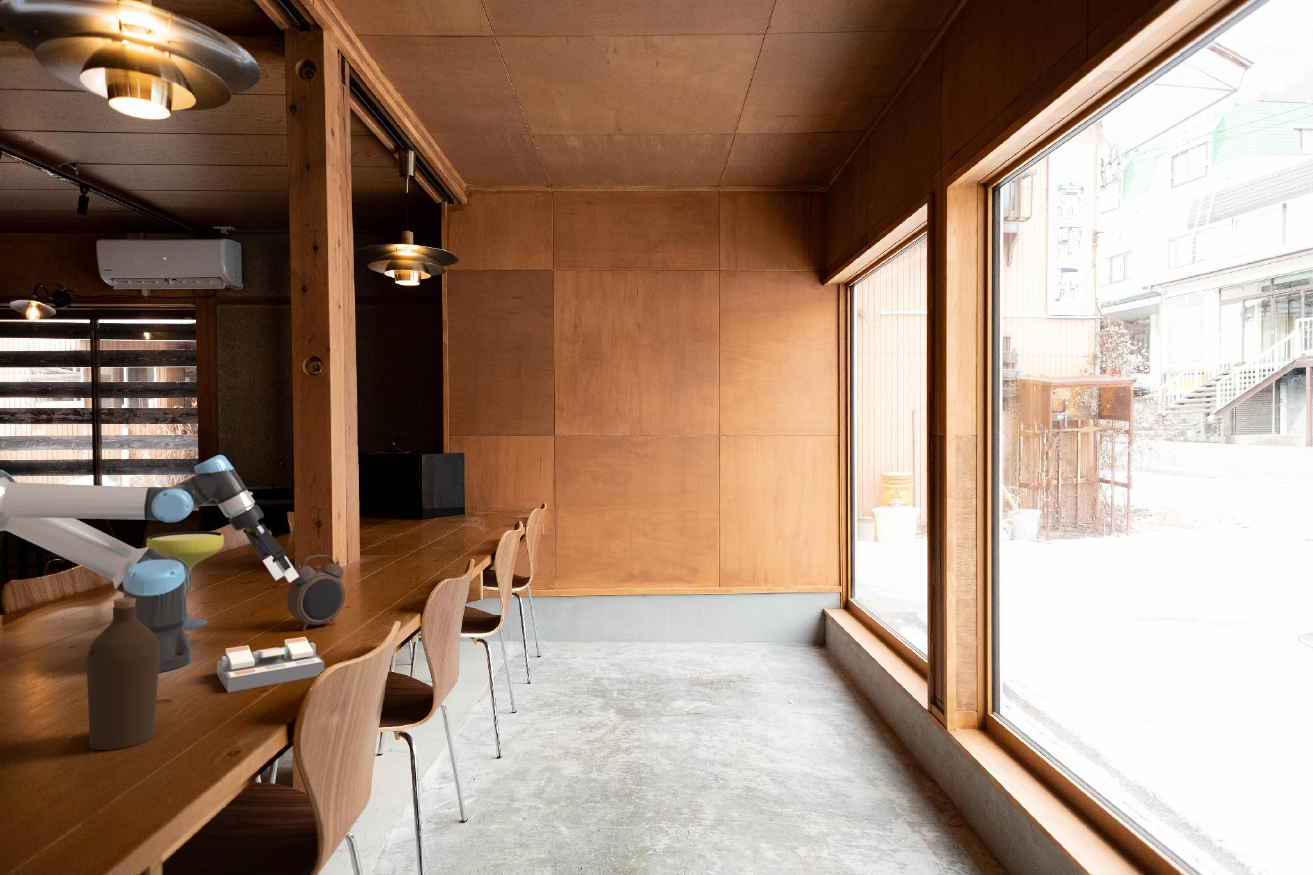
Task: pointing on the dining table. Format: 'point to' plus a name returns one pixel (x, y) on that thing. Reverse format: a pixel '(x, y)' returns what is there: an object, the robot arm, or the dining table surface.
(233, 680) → the switch unit
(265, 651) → the middle switch
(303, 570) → the alarm clock
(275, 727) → the dining table surface
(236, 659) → the left switch
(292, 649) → the right switch
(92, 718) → the olive oil
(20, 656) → the dining table surface
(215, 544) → the cocktail glass
